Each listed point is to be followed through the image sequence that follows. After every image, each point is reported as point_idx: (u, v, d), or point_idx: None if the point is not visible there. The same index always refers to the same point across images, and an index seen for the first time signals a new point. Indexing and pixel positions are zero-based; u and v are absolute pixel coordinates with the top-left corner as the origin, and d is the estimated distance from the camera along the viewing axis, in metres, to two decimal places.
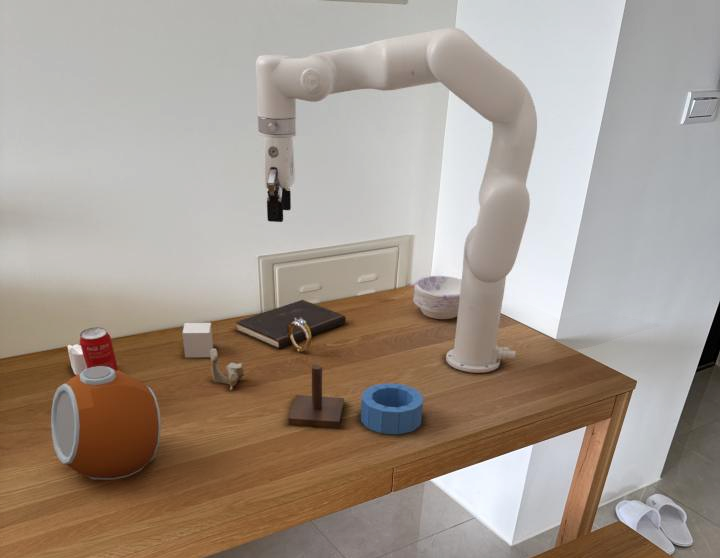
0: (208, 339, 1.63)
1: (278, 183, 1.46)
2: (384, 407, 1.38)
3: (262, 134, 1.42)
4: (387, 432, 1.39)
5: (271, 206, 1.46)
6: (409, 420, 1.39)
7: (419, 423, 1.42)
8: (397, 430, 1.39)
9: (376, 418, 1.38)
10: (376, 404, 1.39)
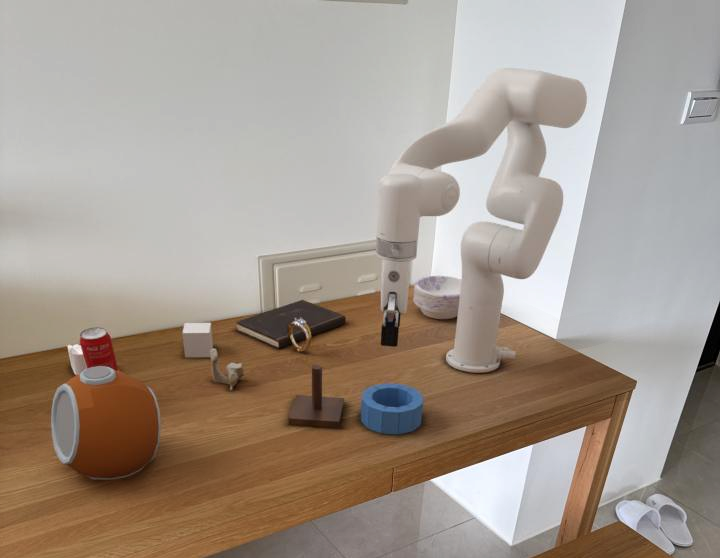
0: (208, 339, 1.63)
1: (394, 307, 1.34)
2: (384, 407, 1.38)
3: (381, 257, 1.29)
4: (387, 432, 1.39)
5: (386, 331, 1.34)
6: (409, 420, 1.39)
7: (419, 423, 1.42)
8: (397, 430, 1.39)
9: (376, 418, 1.38)
10: (376, 404, 1.39)
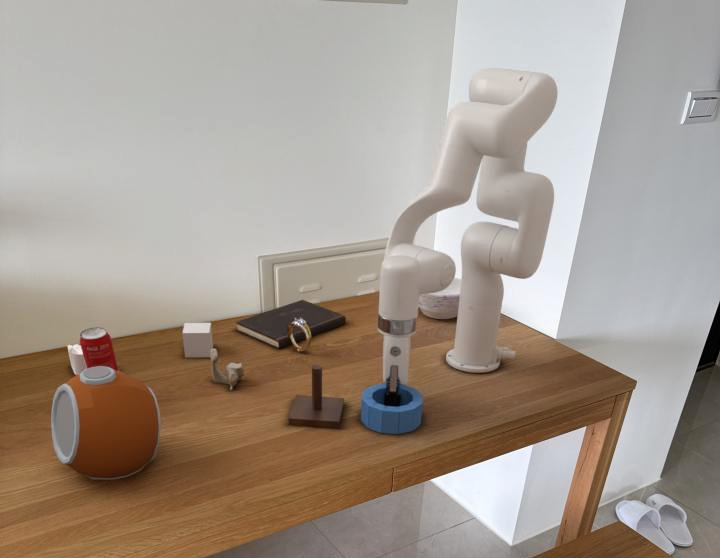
0: (208, 339, 1.63)
1: None
2: (384, 407, 1.38)
3: (383, 333, 1.37)
4: (387, 432, 1.39)
5: (389, 399, 1.45)
6: (409, 420, 1.39)
7: (419, 423, 1.42)
8: (397, 430, 1.39)
9: (376, 417, 1.38)
10: (376, 404, 1.39)
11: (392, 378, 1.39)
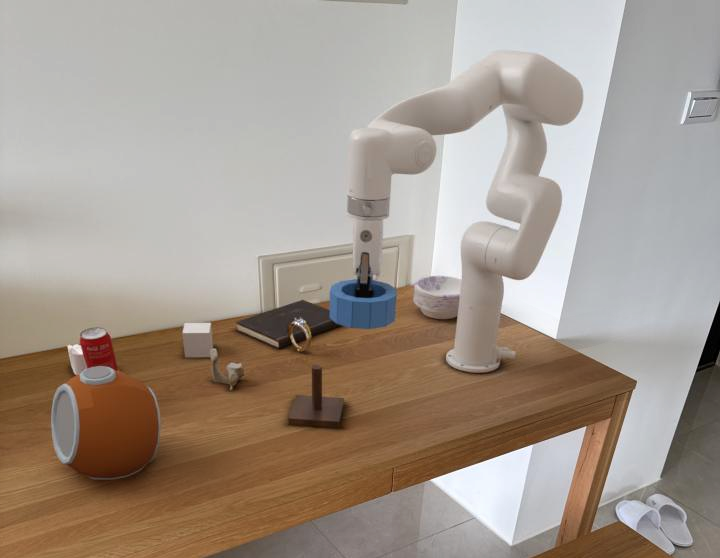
0: (208, 339, 1.63)
1: (367, 268, 1.29)
2: (354, 298, 1.26)
3: (353, 216, 1.25)
4: (358, 326, 1.27)
5: (361, 295, 1.33)
6: (381, 313, 1.27)
7: (393, 319, 1.30)
8: (368, 324, 1.27)
9: (345, 310, 1.27)
10: (345, 295, 1.27)
11: (363, 267, 1.27)
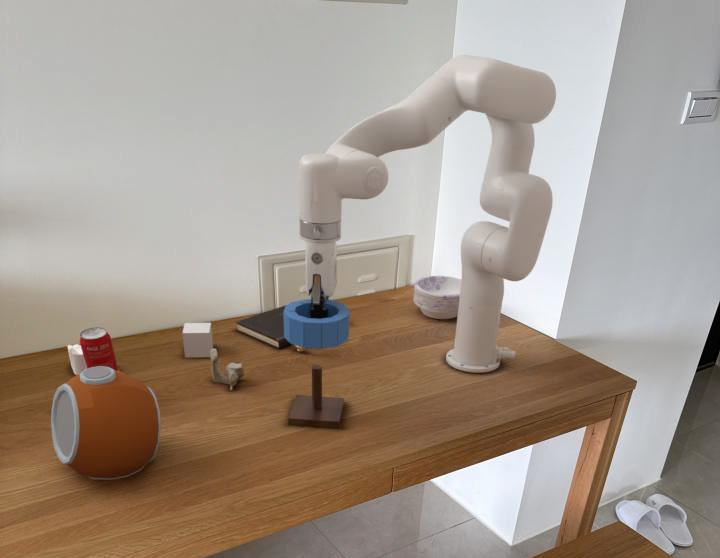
0: (208, 339, 1.63)
1: (320, 289, 1.32)
2: (306, 318, 1.29)
3: (304, 238, 1.28)
4: (310, 346, 1.30)
5: (315, 314, 1.36)
6: (333, 333, 1.30)
7: (345, 338, 1.33)
8: (320, 344, 1.30)
9: (298, 330, 1.30)
10: (298, 316, 1.30)
11: (315, 289, 1.30)
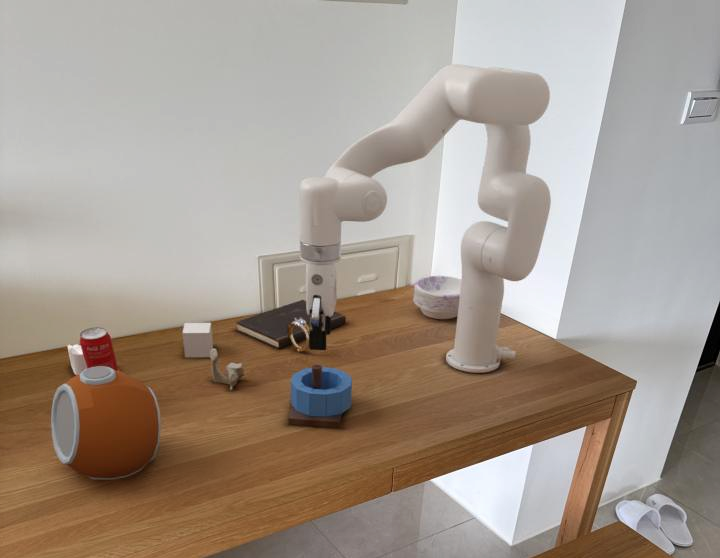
0: (208, 339, 1.63)
1: (320, 309, 1.34)
2: (312, 389, 1.40)
3: (305, 260, 1.30)
4: (315, 414, 1.41)
5: (314, 335, 1.36)
6: (337, 402, 1.40)
7: (348, 406, 1.44)
8: (325, 412, 1.41)
9: (304, 400, 1.40)
10: (304, 387, 1.41)
11: None
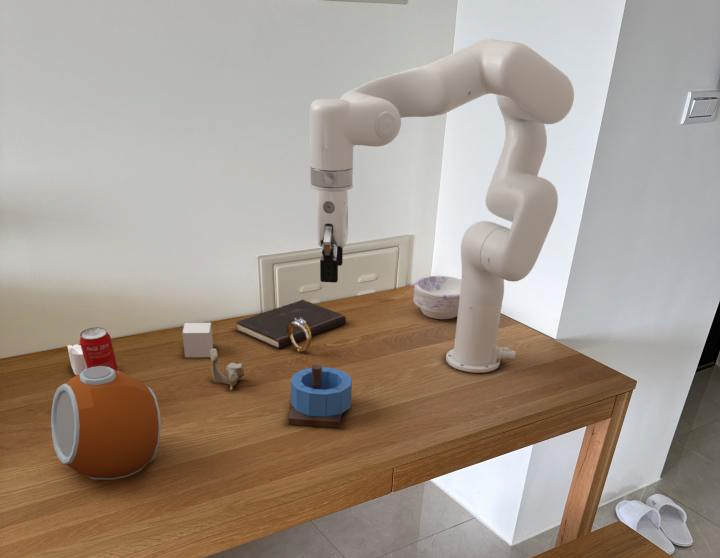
0: (208, 339, 1.63)
1: (332, 240, 1.30)
2: (312, 389, 1.40)
3: (316, 187, 1.26)
4: (315, 414, 1.41)
5: (325, 266, 1.30)
6: (337, 402, 1.40)
7: (348, 406, 1.44)
8: (325, 412, 1.41)
9: (304, 400, 1.40)
10: (304, 387, 1.41)
11: None
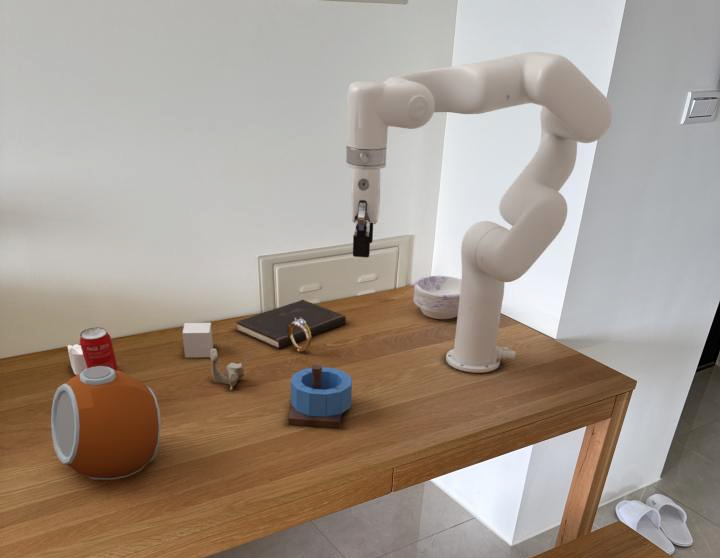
0: (208, 339, 1.63)
1: (365, 217, 1.37)
2: (312, 389, 1.40)
3: (351, 165, 1.32)
4: (315, 414, 1.41)
5: (358, 241, 1.37)
6: (337, 402, 1.40)
7: (348, 406, 1.44)
8: (325, 412, 1.41)
9: (304, 400, 1.40)
10: (304, 387, 1.41)
11: None
